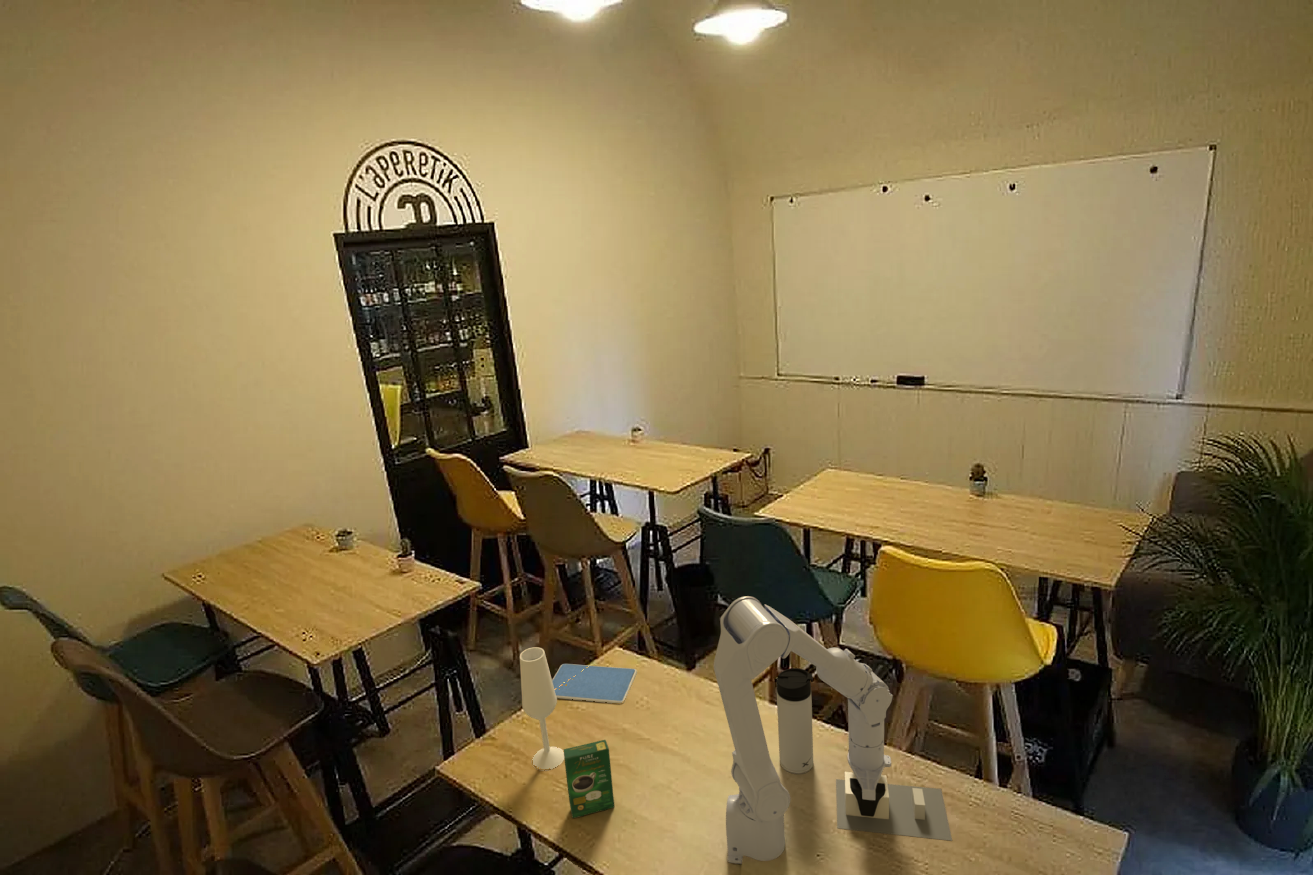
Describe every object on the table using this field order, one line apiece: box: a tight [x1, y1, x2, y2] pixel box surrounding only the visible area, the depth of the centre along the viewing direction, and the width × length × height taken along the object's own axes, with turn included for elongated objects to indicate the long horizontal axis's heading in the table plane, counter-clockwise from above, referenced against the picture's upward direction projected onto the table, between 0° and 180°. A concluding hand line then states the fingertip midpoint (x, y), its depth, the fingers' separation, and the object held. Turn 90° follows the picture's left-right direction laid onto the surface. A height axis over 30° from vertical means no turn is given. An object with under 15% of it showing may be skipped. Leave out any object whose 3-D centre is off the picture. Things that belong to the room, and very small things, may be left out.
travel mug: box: [775, 667, 814, 775], centre depth 130 cm, size 6×7×20 cm
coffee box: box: [563, 739, 615, 819], centre depth 125 cm, size 8×3×13 cm, turn 104°
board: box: [835, 778, 953, 842], centre depth 120 cm, size 18×11×4 cm, turn 77°
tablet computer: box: [552, 663, 638, 704], centre depth 162 cm, size 19×13×1 cm, turn 76°
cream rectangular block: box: [844, 771, 889, 819], centre depth 120 cm, size 5×7×4 cm
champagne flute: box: [519, 646, 565, 770], centre depth 137 cm, size 7×7×24 cm
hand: (866, 801), depth 121 cm, fingers closed on cream rectangular block, 5 cm apart
